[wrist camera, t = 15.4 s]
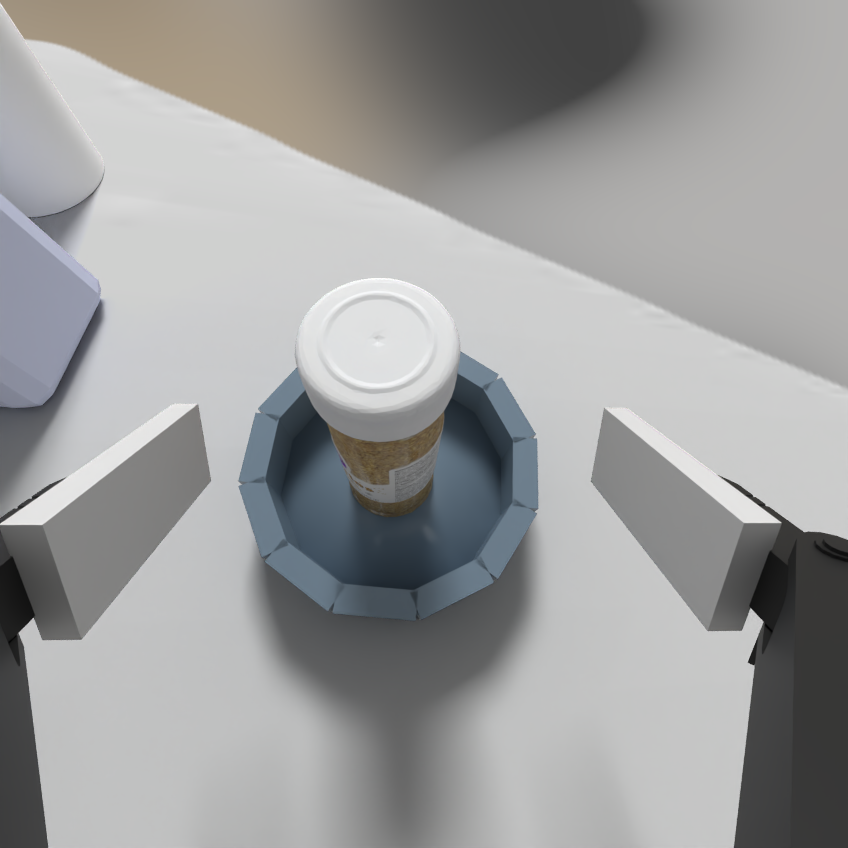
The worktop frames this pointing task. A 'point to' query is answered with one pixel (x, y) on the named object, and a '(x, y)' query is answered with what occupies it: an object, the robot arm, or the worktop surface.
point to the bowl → (392, 536)
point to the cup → (39, 135)
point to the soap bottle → (38, 309)
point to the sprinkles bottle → (381, 385)
